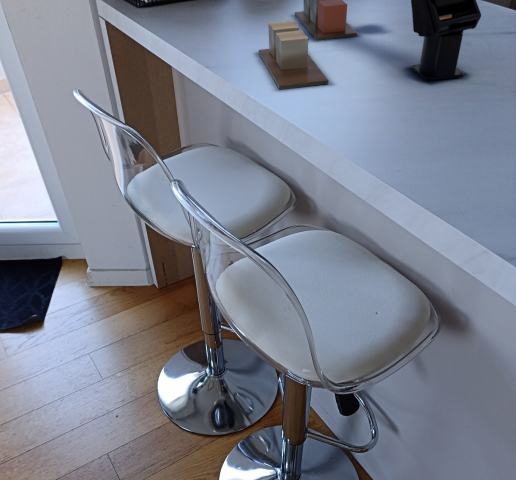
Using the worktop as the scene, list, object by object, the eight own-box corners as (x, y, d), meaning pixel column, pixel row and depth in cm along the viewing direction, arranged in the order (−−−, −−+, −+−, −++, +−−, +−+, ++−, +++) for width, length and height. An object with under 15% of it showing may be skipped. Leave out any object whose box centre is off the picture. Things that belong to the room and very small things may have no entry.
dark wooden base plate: (357, 36, 103) (359, 5, 99) (316, 40, 102) (317, 9, 98) (330, 11, 116) (331, -17, 112) (294, 15, 115) (294, -13, 112)
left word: (328, 84, 85) (329, 49, 82) (279, 89, 85) (278, 54, 81) (301, 48, 99) (301, 17, 95) (258, 53, 98) (257, 21, 94)
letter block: (345, 31, 103) (347, 4, 100) (323, 33, 103) (324, 6, 100) (339, 25, 106) (340, -2, 103) (317, 27, 106) (318, 0, 103)
